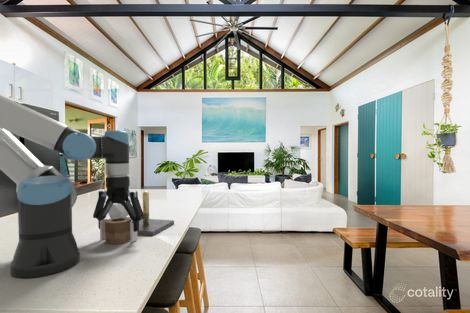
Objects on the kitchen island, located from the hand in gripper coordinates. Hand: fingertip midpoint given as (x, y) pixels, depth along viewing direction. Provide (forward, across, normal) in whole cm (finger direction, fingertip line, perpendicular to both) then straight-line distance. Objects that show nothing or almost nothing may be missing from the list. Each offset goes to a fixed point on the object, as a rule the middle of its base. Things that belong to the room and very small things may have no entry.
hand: (118, 239), depth 91 cm
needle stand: (0, -1, -15) cm, 15 cm away
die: (0, +18, -23) cm, 29 cm away
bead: (0, 0, 0) cm, 0 cm away
